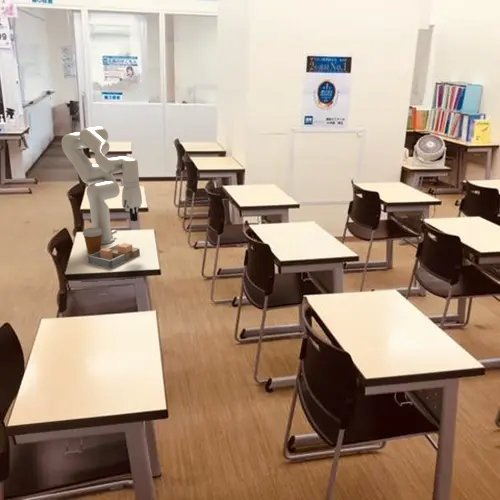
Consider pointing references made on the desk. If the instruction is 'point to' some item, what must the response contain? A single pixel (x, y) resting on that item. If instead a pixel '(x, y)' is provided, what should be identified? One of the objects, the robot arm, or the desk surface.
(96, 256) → the tray
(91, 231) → the disposable coffee cup
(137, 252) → the brown wooden slab
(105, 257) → the tile
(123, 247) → the tile
